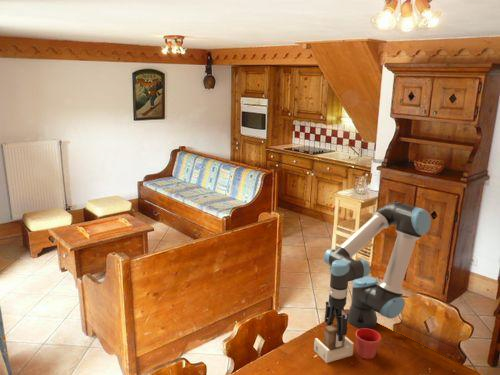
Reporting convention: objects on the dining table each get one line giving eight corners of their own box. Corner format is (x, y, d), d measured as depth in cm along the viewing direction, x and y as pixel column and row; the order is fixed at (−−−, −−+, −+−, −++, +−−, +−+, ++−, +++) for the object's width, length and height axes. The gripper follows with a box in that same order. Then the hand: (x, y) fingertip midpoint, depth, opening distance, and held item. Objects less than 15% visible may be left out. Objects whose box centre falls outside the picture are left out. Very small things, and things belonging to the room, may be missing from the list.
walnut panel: (327, 355, 192) (329, 331, 190) (322, 350, 196) (324, 327, 193) (343, 350, 196) (346, 326, 193) (339, 346, 199) (341, 322, 196)
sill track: (339, 343, 203) (340, 331, 202) (352, 355, 195) (353, 343, 193) (313, 350, 198) (314, 338, 196) (326, 363, 189) (327, 350, 187)
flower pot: (379, 362, 190) (382, 343, 188) (354, 359, 192) (356, 339, 190) (377, 348, 200) (380, 329, 198) (353, 345, 202) (355, 326, 200)
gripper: (318, 287, 196) (315, 333, 201) (344, 307, 179) (339, 356, 185) (332, 284, 199) (328, 329, 205) (358, 303, 183) (354, 352, 188)
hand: (334, 342), depth 195 cm, fingers open, 6 cm apart
